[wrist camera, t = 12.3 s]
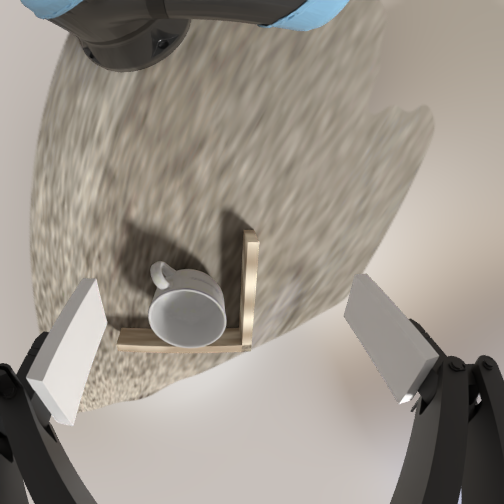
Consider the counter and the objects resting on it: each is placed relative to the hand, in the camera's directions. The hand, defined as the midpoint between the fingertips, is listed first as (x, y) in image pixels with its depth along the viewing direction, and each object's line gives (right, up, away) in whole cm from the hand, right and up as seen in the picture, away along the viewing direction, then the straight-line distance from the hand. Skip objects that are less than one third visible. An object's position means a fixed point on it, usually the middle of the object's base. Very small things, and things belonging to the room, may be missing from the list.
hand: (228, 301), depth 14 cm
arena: (-11, -3, +30) cm, 32 cm away
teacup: (-9, -2, +30) cm, 31 cm away
